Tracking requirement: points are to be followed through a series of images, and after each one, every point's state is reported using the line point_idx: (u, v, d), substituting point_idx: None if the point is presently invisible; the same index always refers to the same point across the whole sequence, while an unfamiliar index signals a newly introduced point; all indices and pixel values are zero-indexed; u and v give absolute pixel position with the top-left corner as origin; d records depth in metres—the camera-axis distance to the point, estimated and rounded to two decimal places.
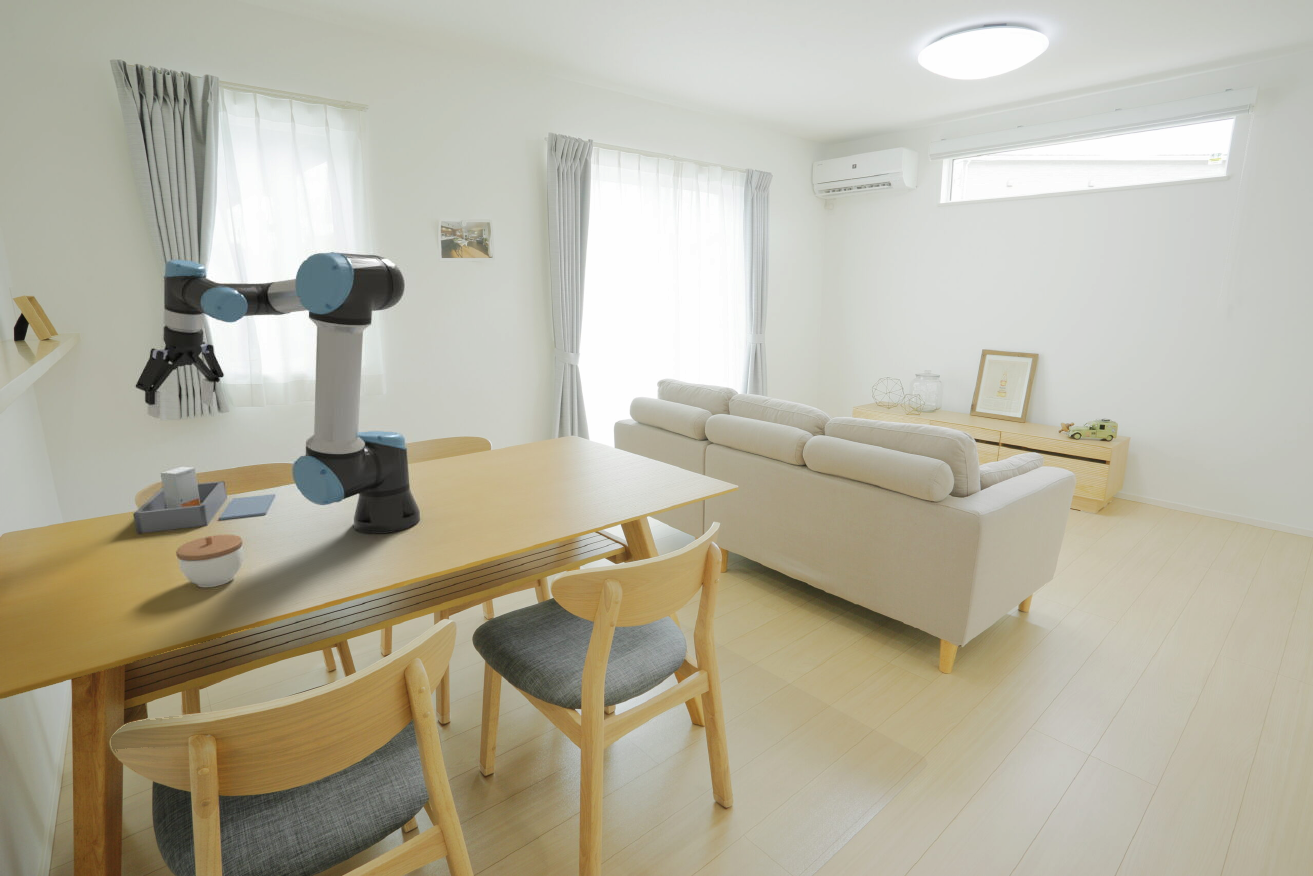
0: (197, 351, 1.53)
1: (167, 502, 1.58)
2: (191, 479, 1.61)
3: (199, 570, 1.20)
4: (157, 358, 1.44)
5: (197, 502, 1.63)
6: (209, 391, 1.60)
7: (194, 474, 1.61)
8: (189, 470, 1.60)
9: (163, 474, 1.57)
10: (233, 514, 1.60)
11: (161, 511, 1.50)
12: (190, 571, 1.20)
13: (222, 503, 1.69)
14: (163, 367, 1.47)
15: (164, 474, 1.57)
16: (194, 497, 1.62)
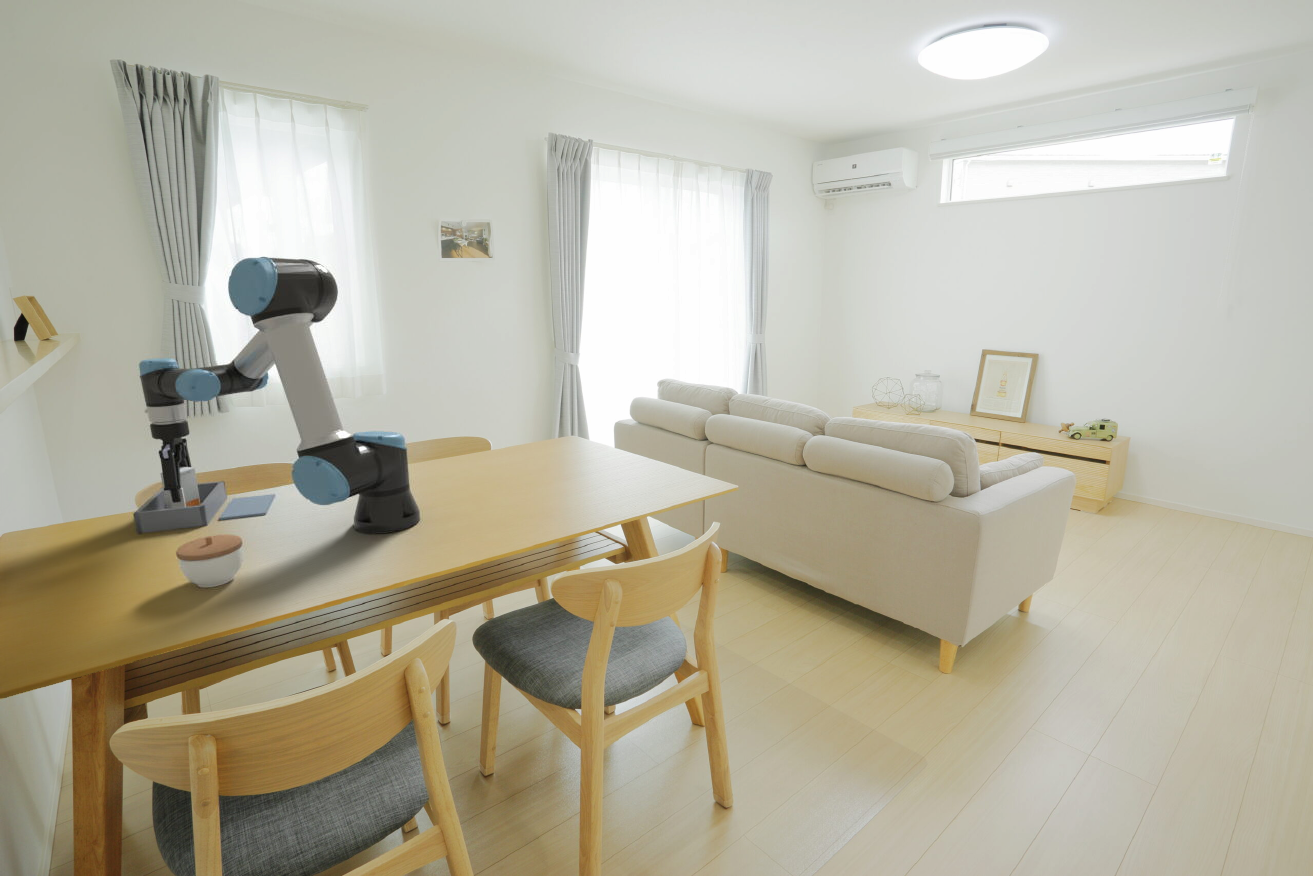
0: (181, 441, 1.60)
1: (167, 502, 1.58)
2: (191, 479, 1.61)
3: (199, 570, 1.20)
4: (171, 457, 1.53)
5: (197, 502, 1.63)
6: None
7: (194, 474, 1.61)
8: (189, 470, 1.60)
9: None
10: (233, 514, 1.60)
11: (161, 511, 1.50)
12: (190, 571, 1.20)
13: (222, 503, 1.69)
14: None
15: None
16: (194, 497, 1.62)
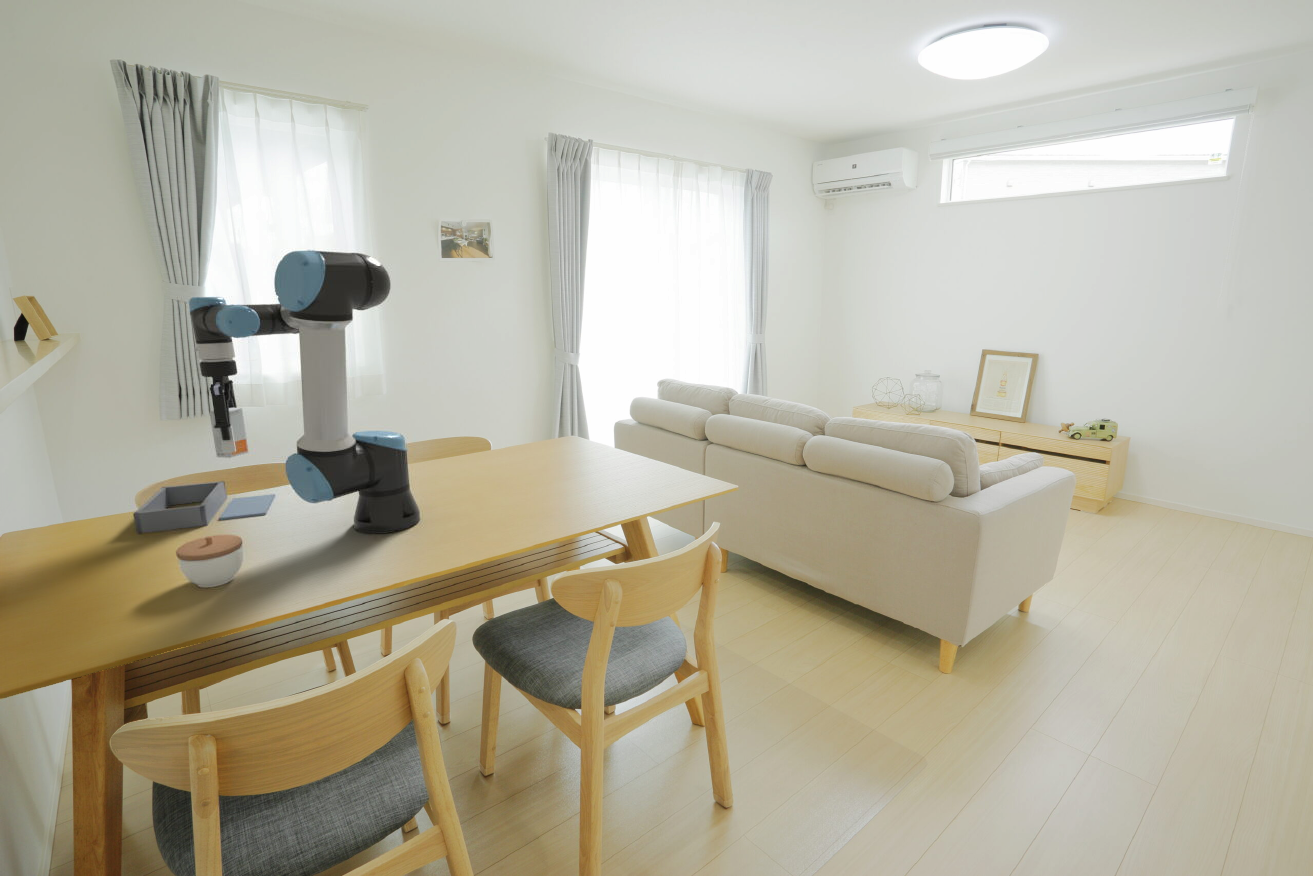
0: (228, 381, 1.61)
1: (216, 441, 1.59)
2: (239, 419, 1.62)
3: (199, 570, 1.20)
4: (221, 393, 1.54)
5: (244, 443, 1.64)
6: None
7: (241, 414, 1.62)
8: (237, 410, 1.61)
9: (212, 413, 1.58)
10: (233, 514, 1.60)
11: (161, 511, 1.50)
12: (190, 571, 1.20)
13: (222, 503, 1.69)
14: None
15: (213, 413, 1.57)
16: (242, 437, 1.63)
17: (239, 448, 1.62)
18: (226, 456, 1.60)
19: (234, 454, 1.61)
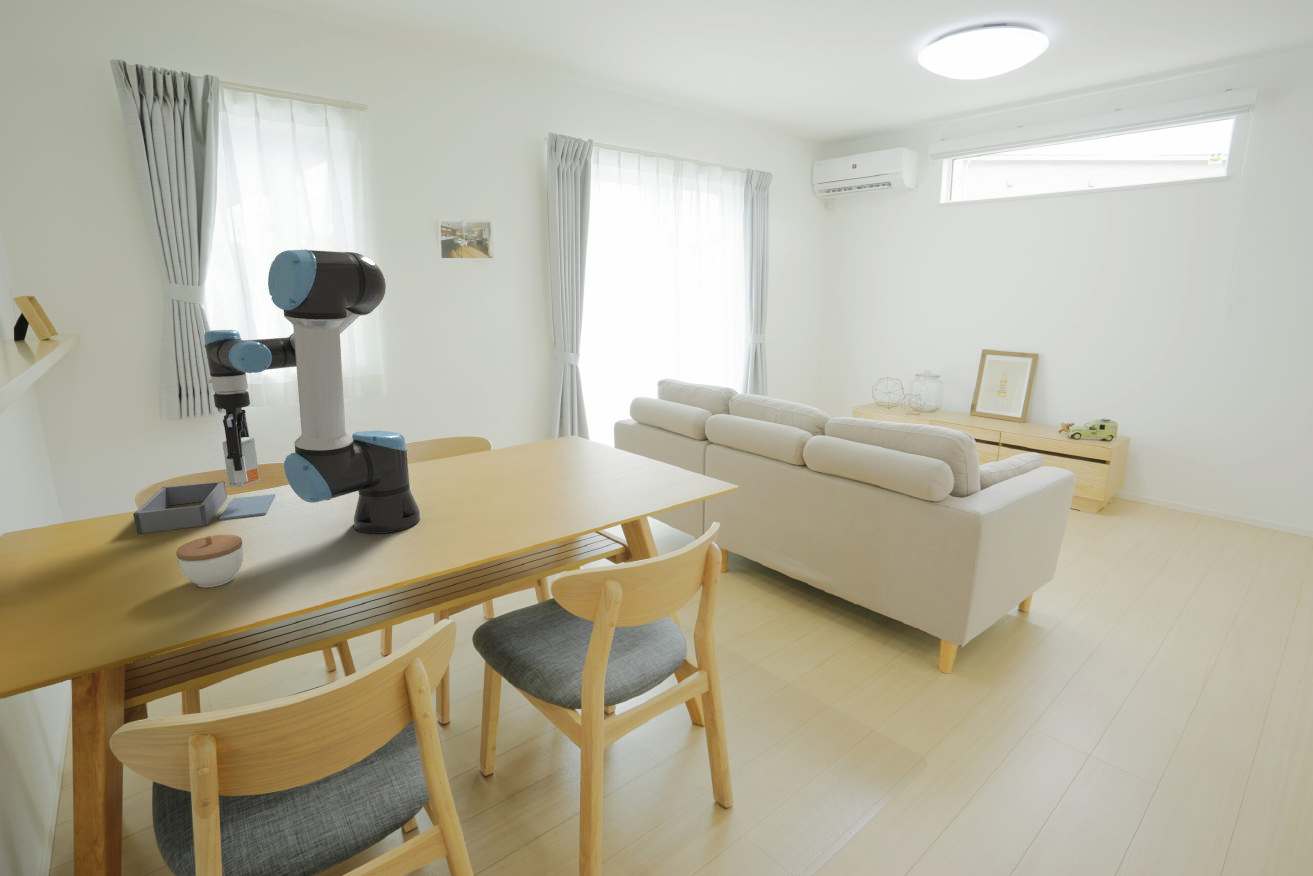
0: (241, 411, 1.64)
1: (228, 471, 1.62)
2: (251, 449, 1.65)
3: (199, 570, 1.20)
4: (234, 426, 1.56)
5: (256, 471, 1.67)
6: None
7: (253, 444, 1.65)
8: (249, 440, 1.64)
9: (225, 443, 1.60)
10: (233, 514, 1.60)
11: (161, 511, 1.50)
12: (190, 571, 1.20)
13: (222, 503, 1.69)
14: None
15: (226, 443, 1.60)
16: (253, 466, 1.66)
17: (251, 477, 1.65)
18: (238, 485, 1.63)
19: (246, 483, 1.64)
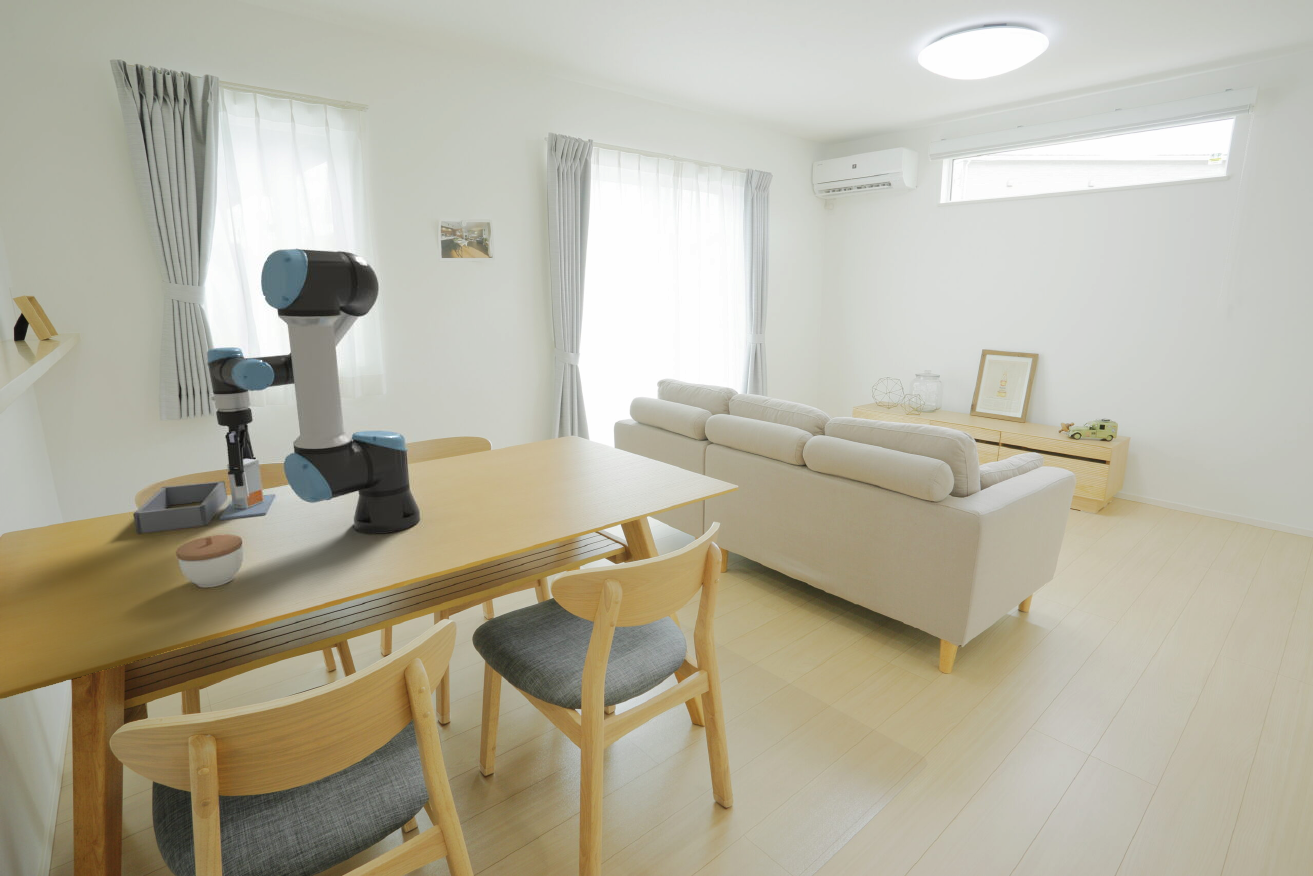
0: (244, 428, 1.65)
1: (233, 493, 1.64)
2: (255, 471, 1.66)
3: (199, 570, 1.20)
4: (236, 441, 1.57)
5: (260, 493, 1.68)
6: None
7: (257, 466, 1.67)
8: (253, 462, 1.65)
9: None
10: (233, 514, 1.60)
11: (161, 511, 1.50)
12: (190, 571, 1.20)
13: (222, 503, 1.69)
14: None
15: None
16: (257, 488, 1.67)
17: (255, 499, 1.67)
18: (242, 507, 1.64)
19: (250, 505, 1.65)
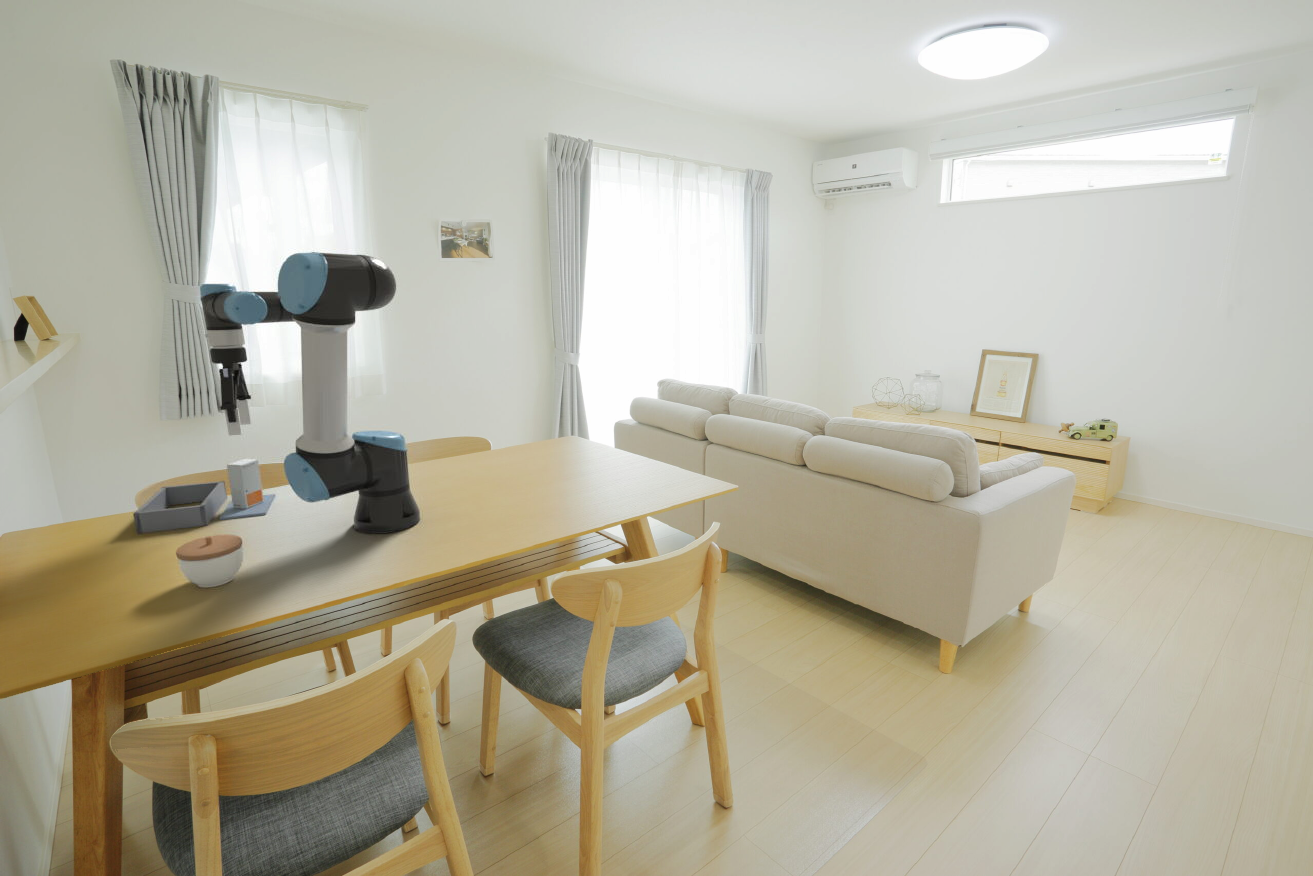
0: (238, 369, 1.62)
1: (232, 493, 1.64)
2: (255, 470, 1.66)
3: (199, 570, 1.20)
4: (230, 375, 1.53)
5: (260, 493, 1.68)
6: (247, 409, 1.68)
7: (257, 466, 1.67)
8: (253, 462, 1.65)
9: (229, 465, 1.62)
10: (233, 514, 1.60)
11: (161, 511, 1.50)
12: (190, 571, 1.20)
13: (222, 503, 1.69)
14: None
15: (230, 465, 1.62)
16: (257, 488, 1.67)
17: (255, 499, 1.67)
18: (242, 507, 1.64)
19: (250, 505, 1.65)
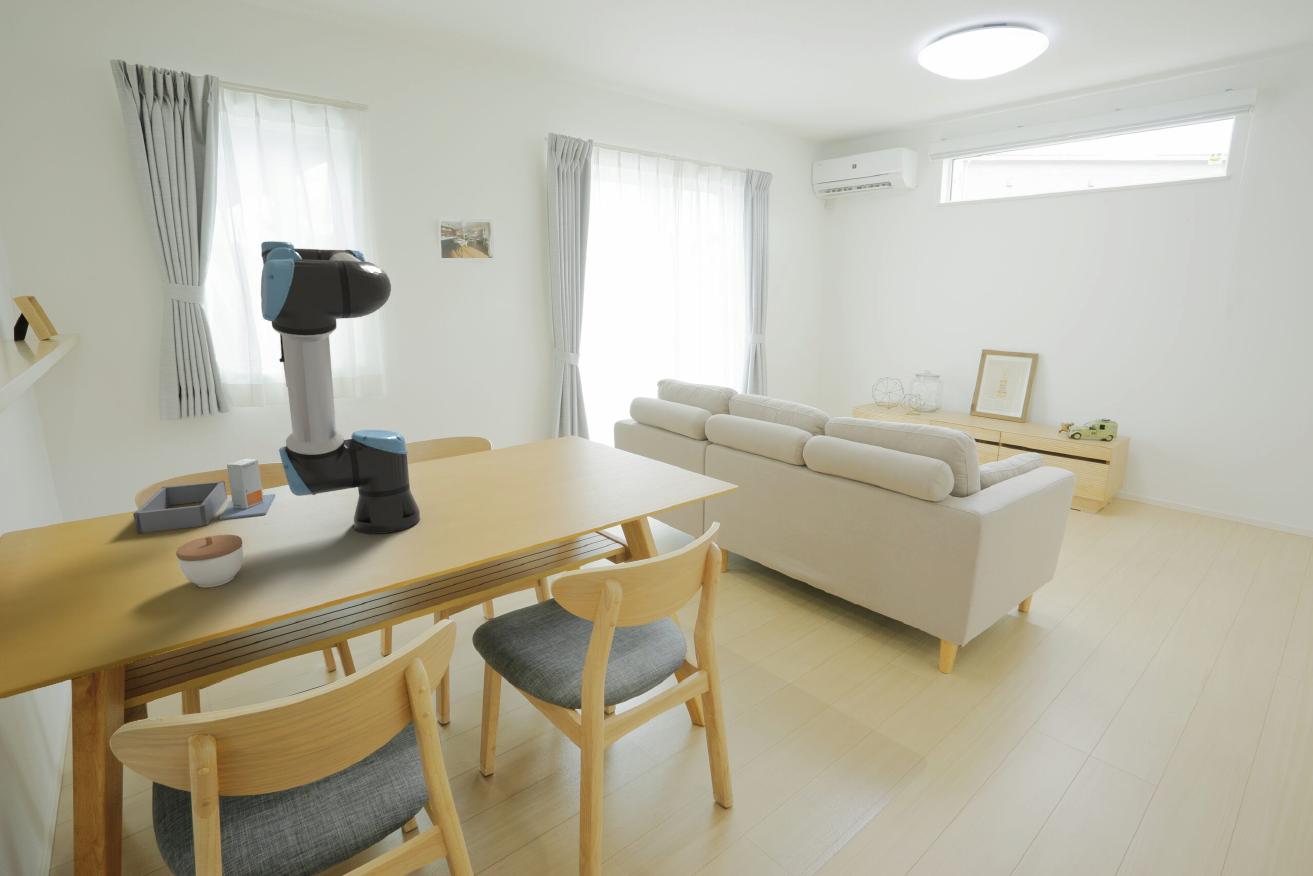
0: None
1: (232, 493, 1.64)
2: (255, 470, 1.66)
3: (199, 570, 1.20)
4: None
5: (260, 493, 1.68)
6: None
7: (257, 466, 1.67)
8: (253, 462, 1.65)
9: (229, 465, 1.62)
10: (233, 514, 1.60)
11: (161, 511, 1.50)
12: (190, 571, 1.20)
13: (222, 503, 1.69)
14: None
15: (230, 465, 1.62)
16: (257, 488, 1.67)
17: (255, 499, 1.67)
18: (242, 507, 1.64)
19: (250, 505, 1.65)
